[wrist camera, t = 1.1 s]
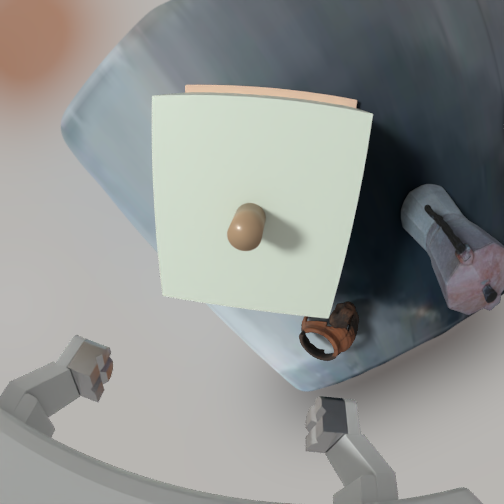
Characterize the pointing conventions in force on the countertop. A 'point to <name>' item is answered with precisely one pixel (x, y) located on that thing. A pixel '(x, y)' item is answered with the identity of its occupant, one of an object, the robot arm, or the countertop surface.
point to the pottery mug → (332, 331)
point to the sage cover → (255, 198)
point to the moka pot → (455, 249)
